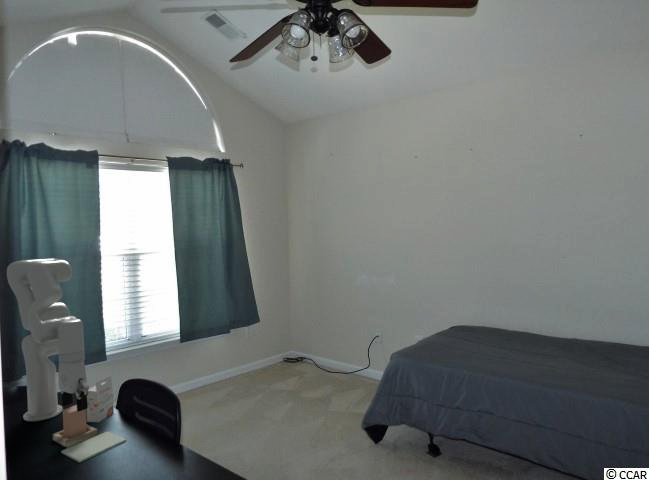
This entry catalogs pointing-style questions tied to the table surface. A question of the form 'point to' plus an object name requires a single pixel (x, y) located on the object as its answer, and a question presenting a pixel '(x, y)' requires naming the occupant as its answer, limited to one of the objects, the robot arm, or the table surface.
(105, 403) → the ink cartridge box
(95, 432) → the pocket frame
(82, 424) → the terracotta block
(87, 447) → the sage pad
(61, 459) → the table surface
